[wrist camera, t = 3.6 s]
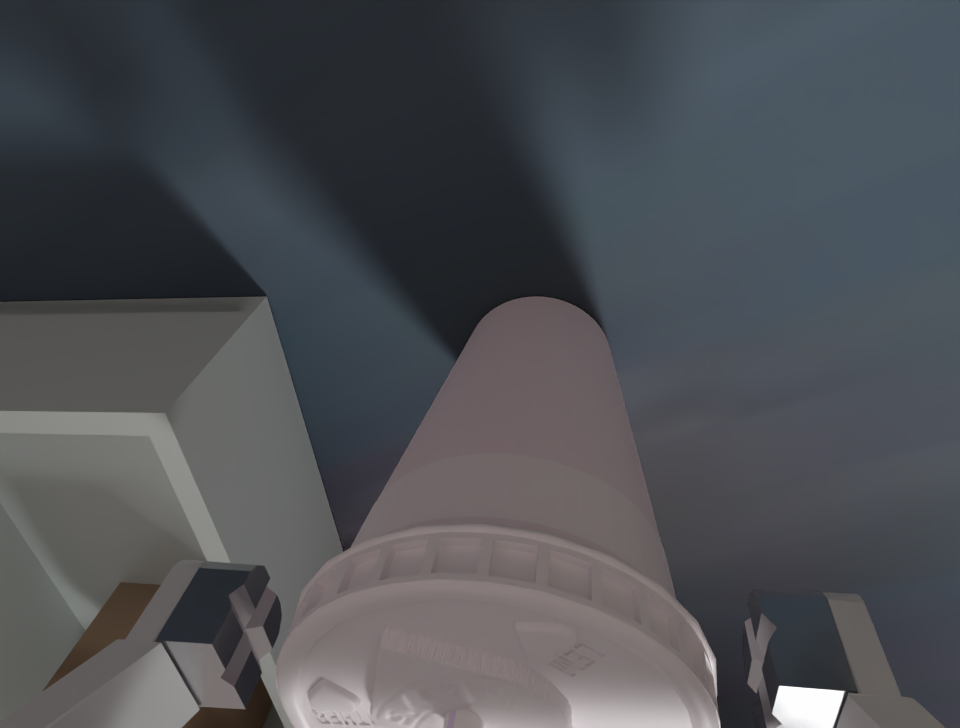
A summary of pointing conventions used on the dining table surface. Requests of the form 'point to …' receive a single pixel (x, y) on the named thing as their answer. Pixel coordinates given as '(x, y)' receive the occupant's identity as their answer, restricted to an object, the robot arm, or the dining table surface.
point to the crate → (145, 466)
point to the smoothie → (506, 560)
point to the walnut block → (116, 623)
